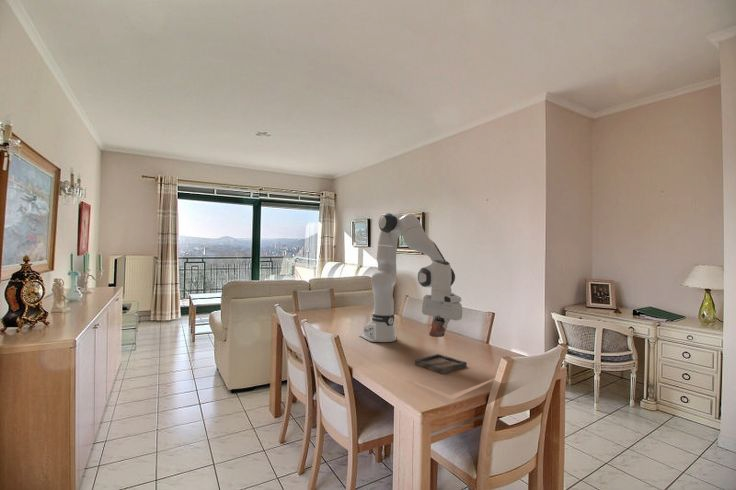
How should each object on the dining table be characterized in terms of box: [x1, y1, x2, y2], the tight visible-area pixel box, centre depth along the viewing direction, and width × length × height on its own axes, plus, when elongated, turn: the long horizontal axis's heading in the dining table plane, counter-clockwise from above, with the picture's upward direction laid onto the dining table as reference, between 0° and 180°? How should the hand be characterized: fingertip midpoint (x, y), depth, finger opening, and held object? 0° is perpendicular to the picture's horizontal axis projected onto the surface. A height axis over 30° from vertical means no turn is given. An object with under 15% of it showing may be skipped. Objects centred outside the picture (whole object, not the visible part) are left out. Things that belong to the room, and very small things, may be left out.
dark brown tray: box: [414, 353, 467, 375], centre depth 157 cm, size 16×16×2 cm
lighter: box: [428, 316, 447, 338], centre depth 158 cm, size 8×3×10 cm, turn 121°
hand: (441, 327), depth 157 cm, fingers closed on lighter, 3 cm apart
